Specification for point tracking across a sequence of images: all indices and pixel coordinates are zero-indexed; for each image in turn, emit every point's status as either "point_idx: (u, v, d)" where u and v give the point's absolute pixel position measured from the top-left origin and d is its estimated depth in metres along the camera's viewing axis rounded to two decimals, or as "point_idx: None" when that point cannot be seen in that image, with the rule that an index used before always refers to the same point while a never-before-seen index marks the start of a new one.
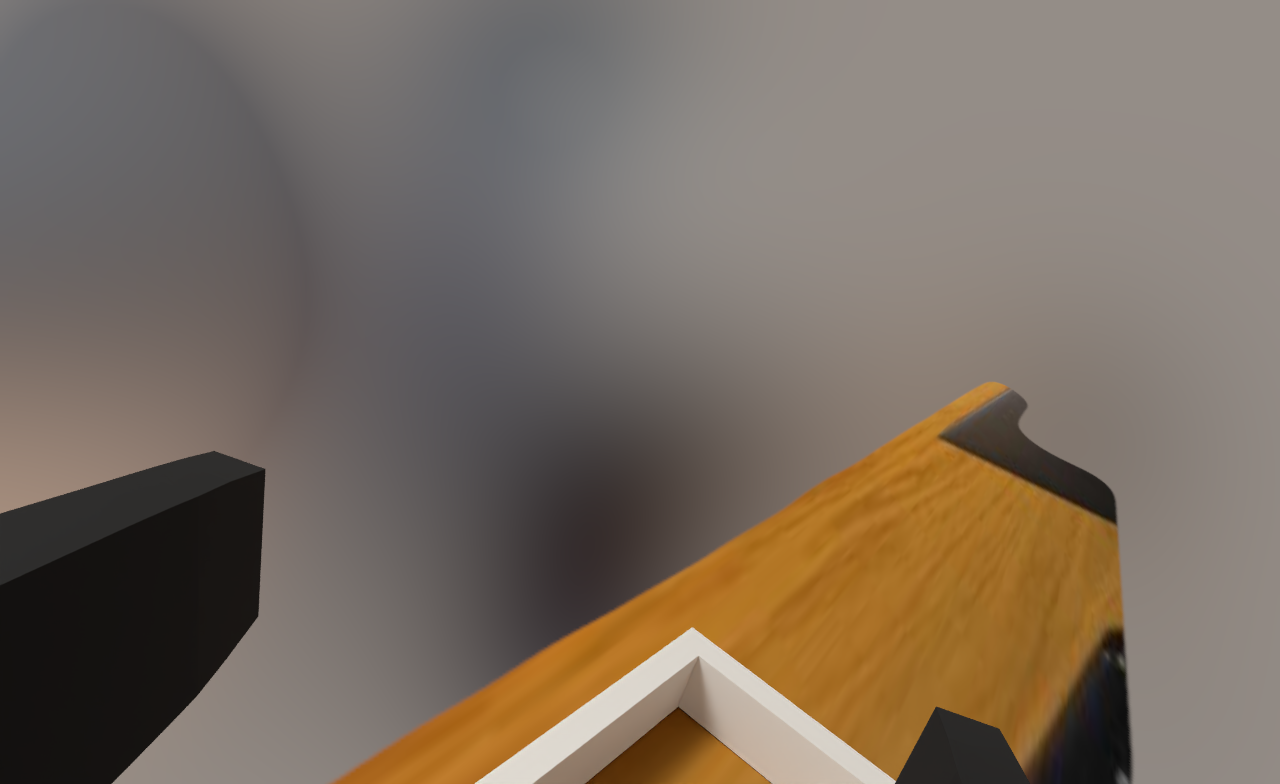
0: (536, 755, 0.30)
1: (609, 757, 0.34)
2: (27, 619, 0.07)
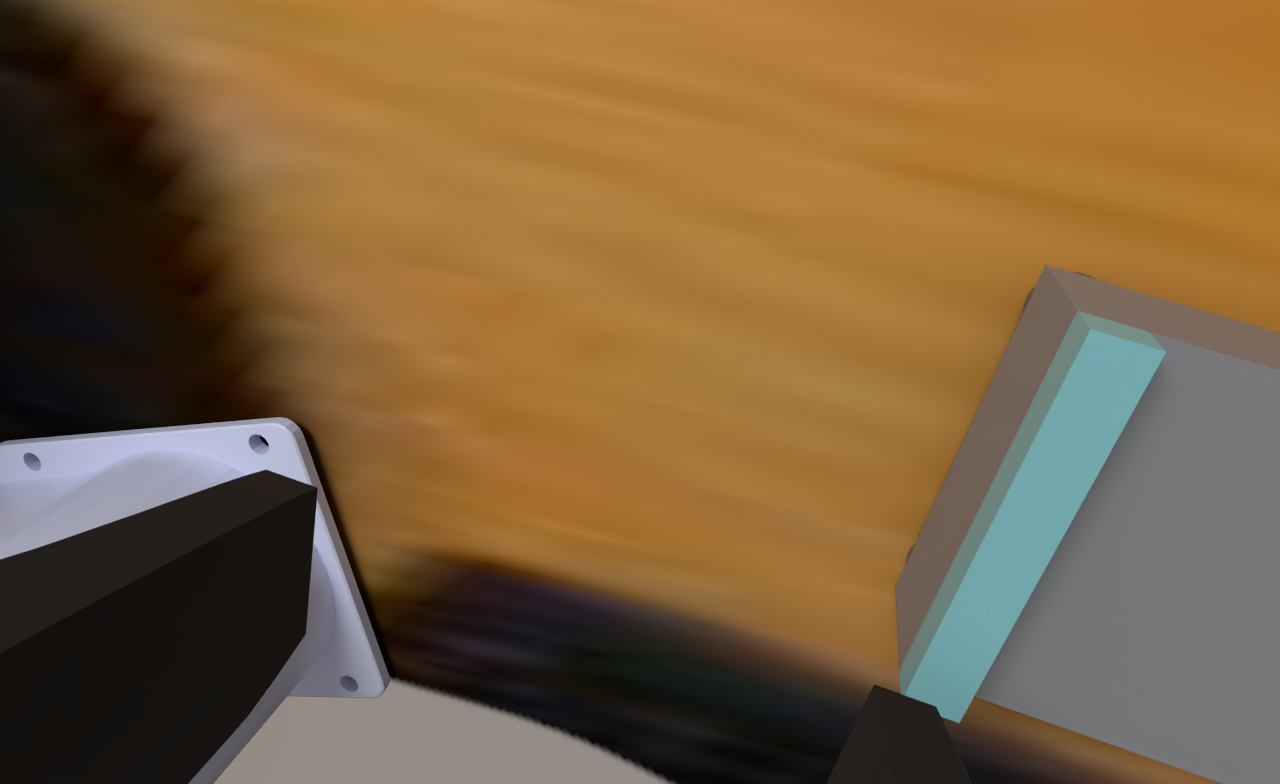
0: None
1: None
2: (96, 644, 0.06)
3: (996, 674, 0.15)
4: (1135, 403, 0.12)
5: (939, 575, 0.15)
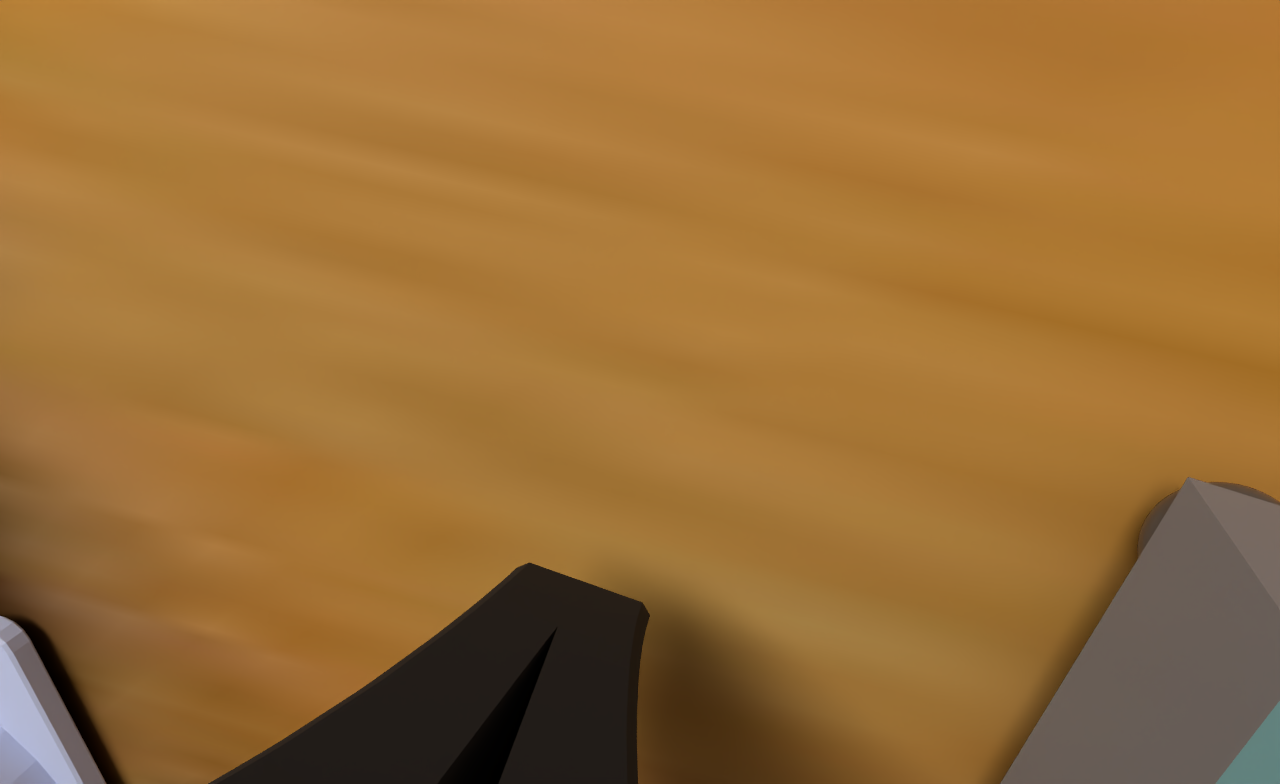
0: None
1: None
2: None
3: None
4: None
5: None
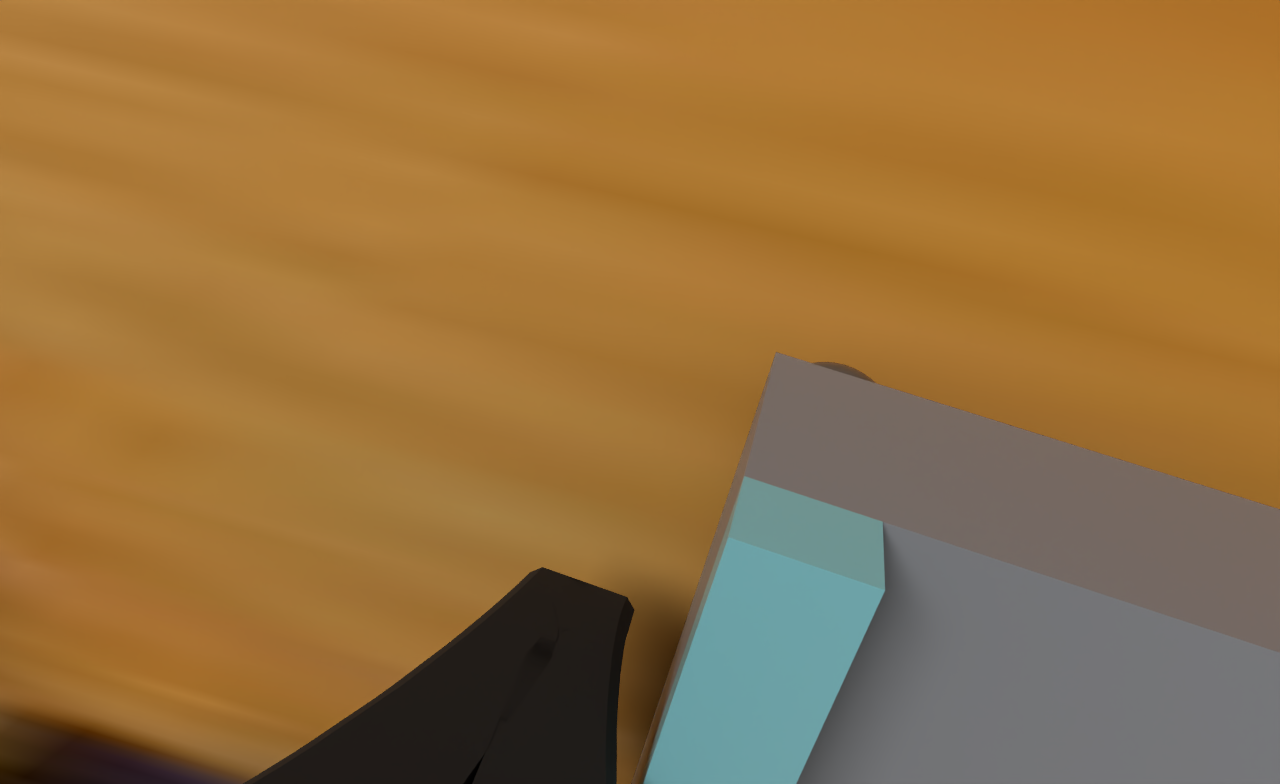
0: None
1: None
2: None
3: None
4: (839, 681, 0.06)
5: None
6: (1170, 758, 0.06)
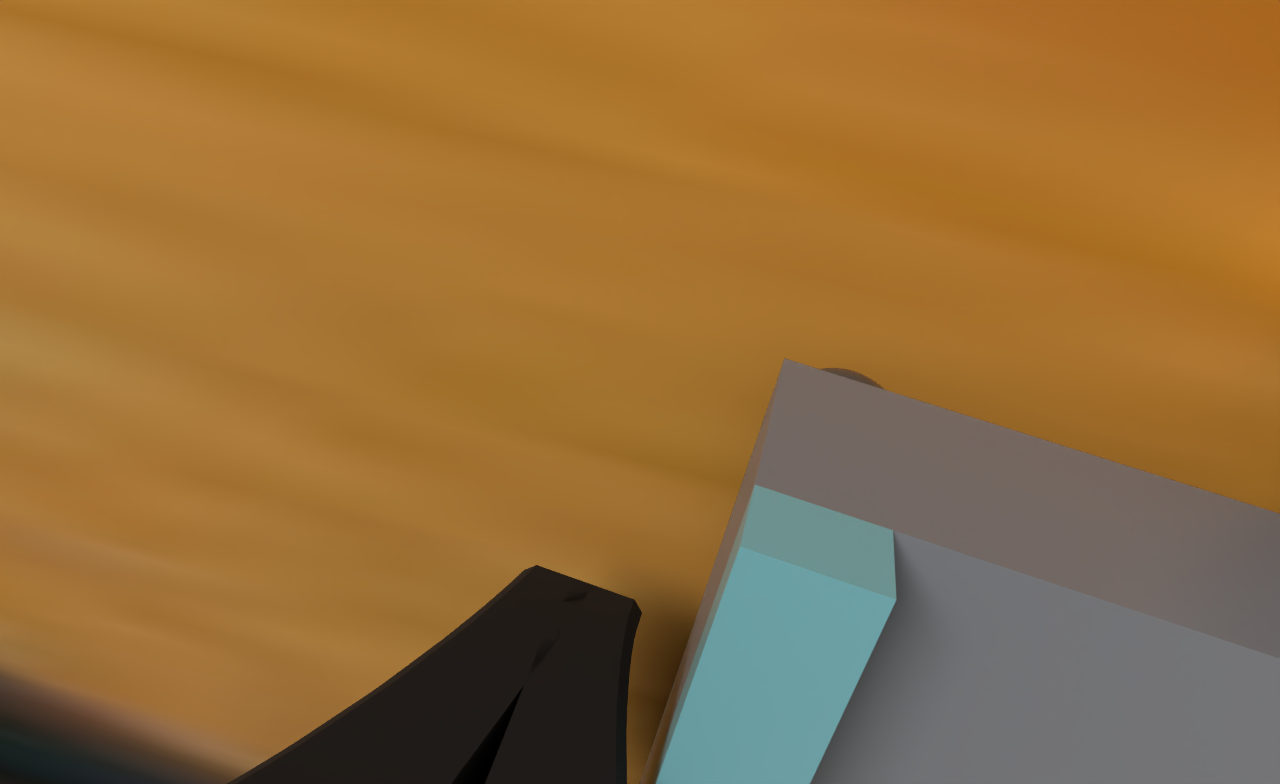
0: None
1: None
2: None
3: None
4: (850, 690, 0.06)
5: None
6: (1179, 765, 0.06)
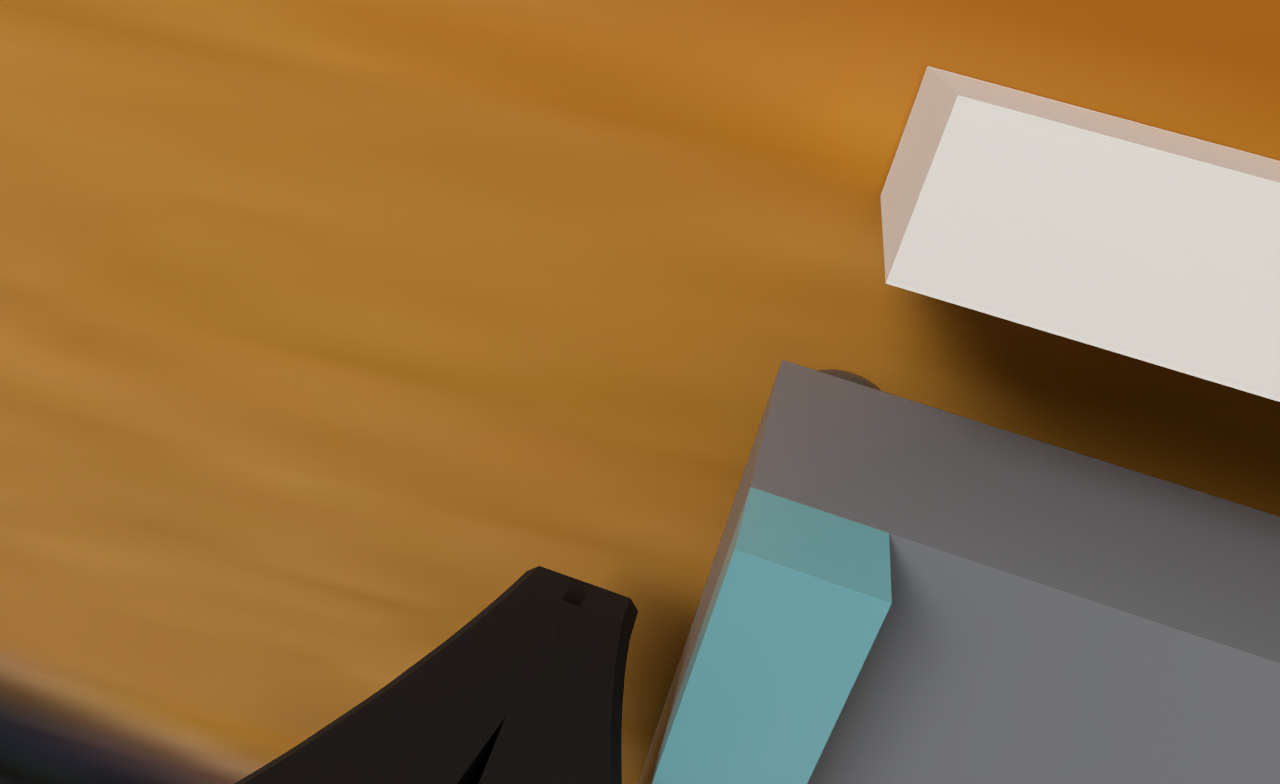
0: None
1: None
2: None
3: None
4: (846, 693, 0.06)
5: None
6: (1178, 770, 0.06)
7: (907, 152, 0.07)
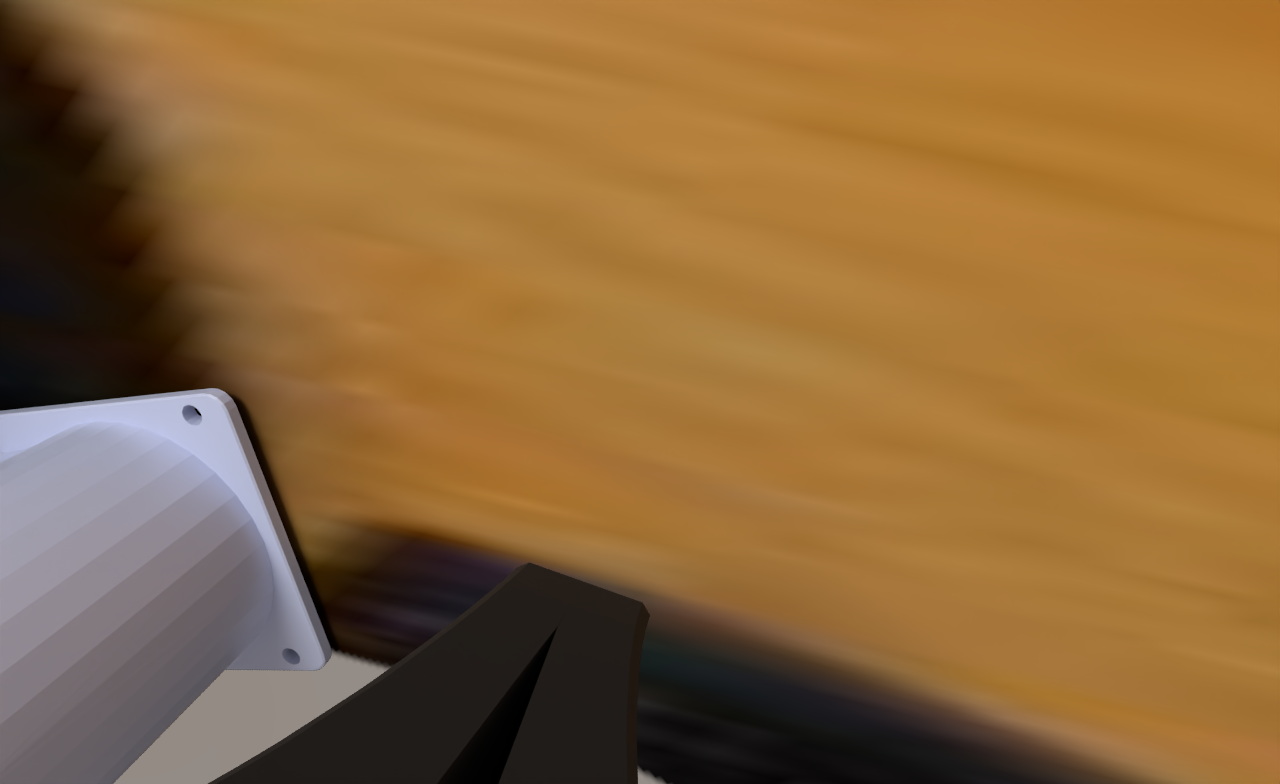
0: None
1: None
2: None
3: None
4: None
5: None
6: None
7: None
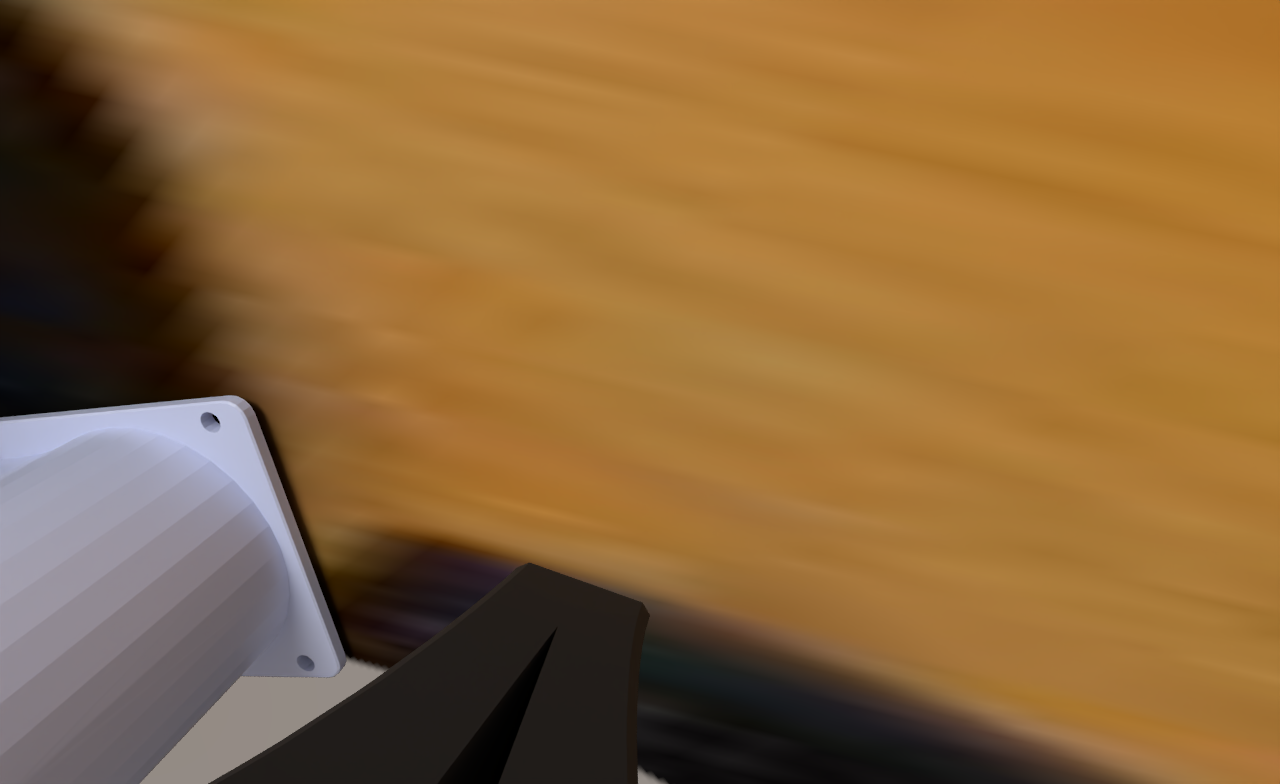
0: None
1: None
2: None
3: None
4: None
5: None
6: None
7: None
